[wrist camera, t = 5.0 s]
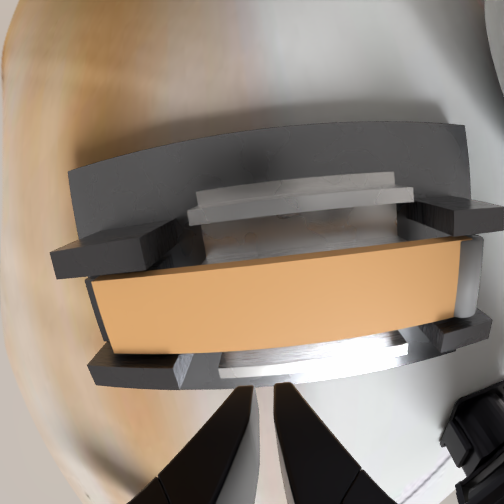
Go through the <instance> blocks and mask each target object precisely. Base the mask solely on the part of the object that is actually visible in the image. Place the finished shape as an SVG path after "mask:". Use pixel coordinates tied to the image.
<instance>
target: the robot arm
mask: <svg viewBox="0 0 504 504" xmlns="http://www.w3.org/2000/svg"><path fill="white" fill-rule="evenodd" d="M274 423H275V431H276V438H277V446H278V453H279V461H280V467H281V473H282V478H283V483H284V488H285V493H286V498H287V503H288V504H397V503H396V502H395V501H394V500H393V499H392V498H390V497H389V496H388V495H387V494H386V493H385V492H384V491H383V490H382V489H381V488H380V487H379V486H378V485H377V484H376V483H375V482H374V481H373V480H372V478H371V477H370V476H369V475H368V474H367V473H366V472H365V470H363V469H362V470H361V466H360V465H359V464H358V463H357V462H356V460H355V459H354V458H353V457H352V456H351V455H350V453H349V452H348V451H347V450H346V449H345V448H344V446H343V445H342V444H341V443H340V442H339V440H338V439H337V438H336V437H335V436H334V434H333V433H332V432H331V431H330V430H329V428H328V427H327V426H326V425H325V424H324V422H323V421H322V420H321V419H320V418H319V416H318V415H317V414H316V413H315V411H314V410H313V409H312V408H311V406H310V405H309V404H308V403H307V401H306V400H305V399H304V398H303V396H302V395H301V394H300V393H299V391H298V390H297V389H296V388H295V386H294V385H293V384H292V383H291V382H282V383H275V384H274ZM440 445H441V447H445V446H446V447H447V449H448V451H449V453H450V454H451V456H452V458H453V460H454V462H455V464H456V466H457V467H458V468H460V467H462V468H463V470H464V472H465V474H466V476H467V477H466V478H465V479H464V480H462V481H460V482H458V483H457V484H456V485H455V487H456V491H457V492H456V495H457V499H458V503H459V504H504V381H502V382H500V383H497V384H495V385H493V386H491V387H488V388H486V389H484V390H481V391H479V392H477V393H474V394H472V395H469V396H467V397H464V398H461V399H460V400H458V401H457V402H456V404H455V407H454V409H453V412H452V415H451V417H450V420H449V422H448V425H447V427H446V430H445V432H444V435H443V437H442V439H441V442H440ZM259 466H260V436H259V408H258V402H257V396H256V391H255V387H254V386H253V385H243V386H237V387H236V388H235V389H234V391H233V392H232V393H231V394H230V395H229V397H228V398H227V399H226V400H225V401H224V402H223V404H222V405H221V406H220V407H219V408H218V409H217V411H216V412H215V413H214V414H213V415H212V416H211V418H210V419H209V420H208V421H207V422H206V423H205V424H204V425H203V427H202V428H201V429H200V430H199V431H198V432H197V433H196V434H195V436H194V437H193V438H192V439H191V440H190V441H189V442H188V443H187V444H186V445H185V447H184V448H183V449H182V450H181V451H180V452H179V453H178V454H177V455H176V456H175V457H174V458H173V459H172V460H171V461H170V463H169V464H168V465H167V466H166V467H165V468H164V469H163V470H162V471H161V472H160V473H159V474H158V477H155V478H154V479H153V480H152V481H151V482H150V483H149V484H148V485H147V486H146V487H145V488H144V489H143V490H142V491H141V492H139V493H138V494H137V495H136V496H135V497H134V498H133V499H132V500H131V501H129V502H128V503H127V504H254V503H255V496H256V489H257V482H258V475H259Z"/></svg>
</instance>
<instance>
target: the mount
mask: <svg viewBox="0 0 504 504" xmlns="http://www.w3.org/2000/svg"><path fill="white" fill-rule="evenodd" d="M68 177H69V185H70V192H71V198H72V205H73V210H74V216H75V221H76V227H77V232H78V236H79V240H77V241H74V242H72V243H70V244H67V245H65V246H63V247H60V248H58V249H56V250H54V251H51V252H50V255H51V259H52V263H53V267H54V271H55V275H56V278H57V279H66V278H76V277H86V276H88V278H87V279H85V283H86V287H87V290H88V294H89V297H90V300H91V304H92V307H93V310H94V313H95V316H96V320H97V323H98V325H99V328H100V331H101V334H102V337H103V340H104V341H107V342H106V344H105V345H104V346H103V347H102V348H101V349H100V351H99V352H98V353H97V354H96V355H95V356H94V358H93V359H92V360H91V361H90V362H89V363H88V365H87V366H88V369H89V371H90V373H91V375H92V377H93V380H94V382H95V384H96V385H100V386H111V387H123V388H137V389H158V390H201V389H235V388H236V387H237V386H243V385H253V386H254V387H266V386H274V384H275V383H282V382H291V383H292V384H297V383H306V382H314V381H321V380H328V379H335V378H341V377H347V376H353V375H358V374H364V373H369V372H374V371H379V370H384V369H389V368H393V367H398V366H402V365H406V364H410V363H414V362H418V361H422V360H426V359H430V358H433V357H437V356H441V355H444V354H447V353H451V352H454V351H456V348H460V347H463V346H466V345H469V344H472V343H475V342H478V341H481V340H484V339H487V338H488V337H489V333H490V328H491V324H492V319H491V318H490V317H488V316H487V315H486V314H484V313H483V312H482V311H481V310H479V309H478V308H477V307H476V312H475V314H474V315H473V316H471V317H466V318H459V317H452V318H448V319H444V320H440V321H436V322H431V323H427V324H423V325H418V326H413V327H409V328H404V329H399V330H394V331H389V332H384V333H378V334H373V335H367V336H361V337H355V338H349V339H342V340H335V341H328V342H321V343H313V344H305V345H297V346H288V347H278V348H268V349H257V350H244V351H229V352H211V353H184V354H118V353H114V351H113V349H112V346H111V343H110V340H109V338H108V335H107V332H106V329H105V326H104V323H103V320H102V317H101V314H100V310H99V307H98V304H97V301H96V297H95V294H94V290H93V287H92V283H91V282H92V281H93V280H94V279H96V278H97V277H99V276H101V275H111V274H121V273H131V272H140V271H150V270H159V269H169V268H178V267H188V266H197V265H206V264H215V263H224V262H233V261H243V260H252V259H261V258H269V257H278V256H287V255H296V254H305V253H313V252H322V251H331V250H339V249H348V248H356V247H365V246H373V245H382V244H390V243H398V242H407V241H415V240H423V239H431V238H439V237H447V236H453V237H456V236H464V235H472V234H480V233H487V232H495V231H503V230H504V207H503V206H499V205H494V204H490V203H485V202H481V201H476V200H471V188H470V171H469V158H468V148H467V140H466V132H465V125H455V124H442V123H425V122H339V123H321V124H307V125H295V126H284V127H274V128H265V129H257V130H249V131H242V132H235V133H228V134H222V135H216V136H210V137H204V138H199V139H193V140H188V141H183V142H178V143H173V144H168V145H164V146H159V147H155V148H150V149H146V150H142V151H138V152H134V153H130V154H126V155H122V156H118V157H114V158H111V159H107V160H104V161H100V162H97V163H93V164H90V165H87V166H83V167H80V168H77V169H74V170H71V171H68Z"/></svg>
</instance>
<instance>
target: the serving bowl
mask: <svg viewBox="0 0 504 504" xmlns="http://www.w3.org/2000/svg"><path fill="white" fill-rule="evenodd" d="M485 22H486V30H487V35H488V41H489V46H490V51H491V55H492V59H493V62H494V66H495V70H496V73H497V77H498V80H499V83H500V86H501V89H502V92H503V95H504V0H485Z"/></svg>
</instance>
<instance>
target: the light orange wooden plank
mask: <svg viewBox="0 0 504 504" xmlns="http://www.w3.org/2000/svg"><path fill="white" fill-rule="evenodd" d="M483 241H484V239H483V237H481V236H478V235H474V234H472V235H464V236H456V237H453V236H447V237H439V238H431V239H423V240H415V241H407V242H398V243H390V244H382V245H373V246H365V247H356V248H348V249H339V250H331V251H322V252H313V253H305V254H296V255H287V256H278V257H269V258H261V259H252V260H243V261H233V262H224V263H215V264H206V265H197V266H188V267H178V268H169V269H159V270H150V271H140V272H131V273H121V274H111V275H101V276H99V277H97V278H96V279H94V280H93V281H92V282H91V283H92V287H93V290H94V294H95V297H96V301H97V304H98V307H99V310H100V314H101V317H102V320H103V323H104V326H105V329H106V332H107V335H108V338H109V340H110V343H111V346H112V349H113V351H114V353H118V354H184V353H211V352H229V351H244V350H257V349H268V348H278V347H288V346H297V345H305V344H313V343H321V342H328V341H335V340H342V339H349V338H355V337H361V336H367V335H373V334H378V333H384V332H389V331H394V330H399V329H404V328H409V327H413V326H418V325H423V324H427V323H431V322H436V321H440V320H444V319H448V318H452V317H459V318H466V317H471V316H473V315H474V314H475V312H476V306H477V300H478V293H479V285H480V277H481V268H482V256H483Z"/></svg>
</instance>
